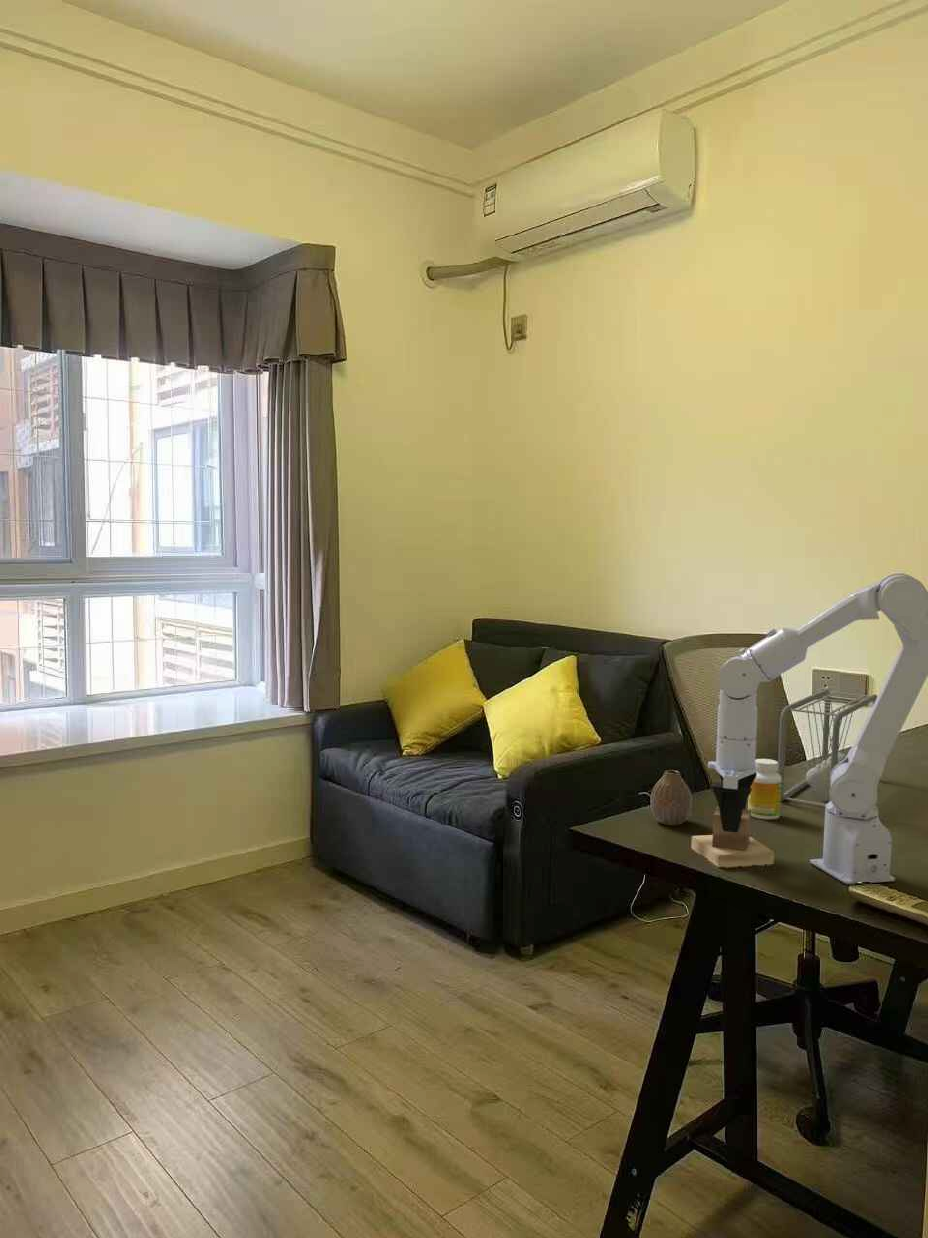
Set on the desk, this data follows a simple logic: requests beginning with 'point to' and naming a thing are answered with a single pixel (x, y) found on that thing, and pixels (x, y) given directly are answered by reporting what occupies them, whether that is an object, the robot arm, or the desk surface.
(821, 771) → the newton's cradle
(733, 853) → the oak block
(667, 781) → the vase
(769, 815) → the supplement bottle
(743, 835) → the walnut cube
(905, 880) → the desk surface
